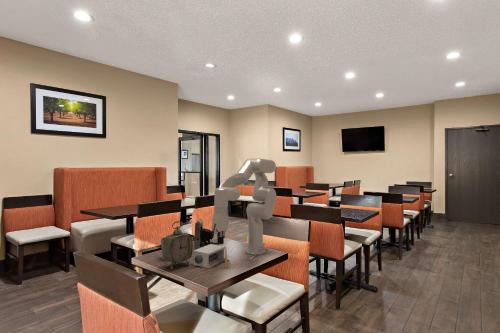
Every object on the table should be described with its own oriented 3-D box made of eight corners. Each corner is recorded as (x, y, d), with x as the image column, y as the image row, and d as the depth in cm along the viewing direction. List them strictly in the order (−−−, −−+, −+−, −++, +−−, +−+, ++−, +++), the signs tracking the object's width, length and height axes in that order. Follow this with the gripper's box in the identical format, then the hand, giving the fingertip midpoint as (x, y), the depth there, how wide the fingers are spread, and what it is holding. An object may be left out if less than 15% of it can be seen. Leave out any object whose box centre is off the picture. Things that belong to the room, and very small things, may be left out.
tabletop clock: (170, 271, 155) (170, 224, 155) (161, 267, 161) (161, 222, 161) (192, 264, 166) (192, 220, 166) (183, 261, 172) (182, 218, 172)
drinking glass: (173, 261, 171) (173, 240, 171) (157, 260, 173) (157, 240, 173) (180, 256, 181) (180, 236, 181) (165, 255, 183) (165, 236, 183)
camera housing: (210, 257, 179) (210, 244, 179) (225, 260, 174) (225, 246, 174) (191, 265, 164) (191, 251, 164) (207, 269, 158) (207, 254, 158)
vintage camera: (217, 253, 189) (218, 222, 189) (193, 252, 189) (194, 221, 190) (219, 249, 199) (220, 219, 199) (196, 248, 199) (197, 218, 199)
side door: (225, 259, 173) (225, 248, 173) (228, 259, 173) (228, 247, 173) (225, 268, 159) (225, 255, 158) (229, 268, 159) (229, 255, 159)
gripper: (223, 208, 171) (222, 240, 171) (207, 211, 158) (206, 245, 158) (234, 209, 168) (233, 241, 167) (218, 212, 155) (217, 247, 154)
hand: (220, 243), depth 163 cm, fingers closed
